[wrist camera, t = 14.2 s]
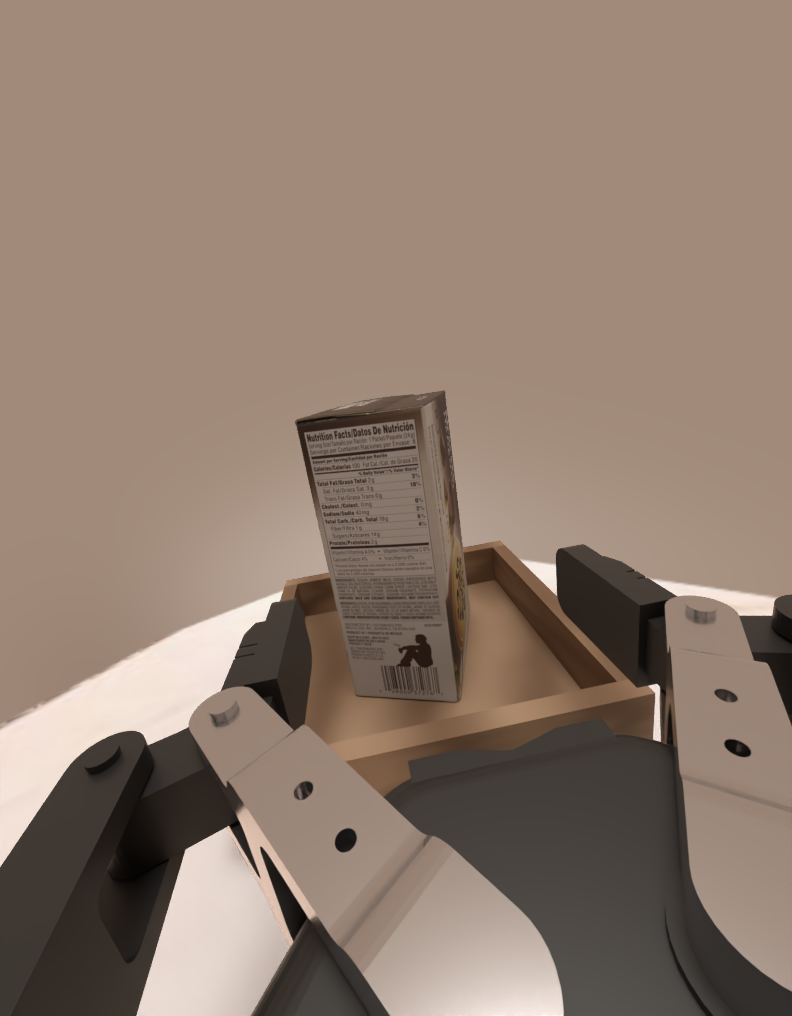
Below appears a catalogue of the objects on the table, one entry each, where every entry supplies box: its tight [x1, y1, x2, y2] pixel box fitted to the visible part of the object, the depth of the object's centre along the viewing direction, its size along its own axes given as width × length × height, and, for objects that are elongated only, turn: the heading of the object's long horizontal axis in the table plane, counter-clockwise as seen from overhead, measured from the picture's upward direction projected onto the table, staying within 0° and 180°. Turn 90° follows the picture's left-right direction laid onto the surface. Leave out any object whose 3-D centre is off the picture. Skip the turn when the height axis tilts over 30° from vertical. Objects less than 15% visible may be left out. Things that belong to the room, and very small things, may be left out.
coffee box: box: [295, 391, 470, 702], centre depth 24 cm, size 9×6×16 cm
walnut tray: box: [280, 541, 655, 797], centre depth 26 cm, size 18×18×4 cm
